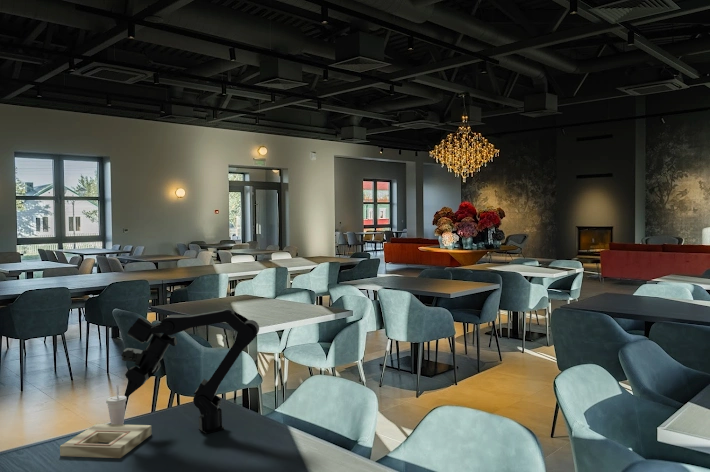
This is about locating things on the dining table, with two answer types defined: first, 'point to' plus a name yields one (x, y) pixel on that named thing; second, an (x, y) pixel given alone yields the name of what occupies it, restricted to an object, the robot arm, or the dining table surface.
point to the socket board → (114, 434)
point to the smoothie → (116, 408)
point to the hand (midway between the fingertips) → (130, 391)
